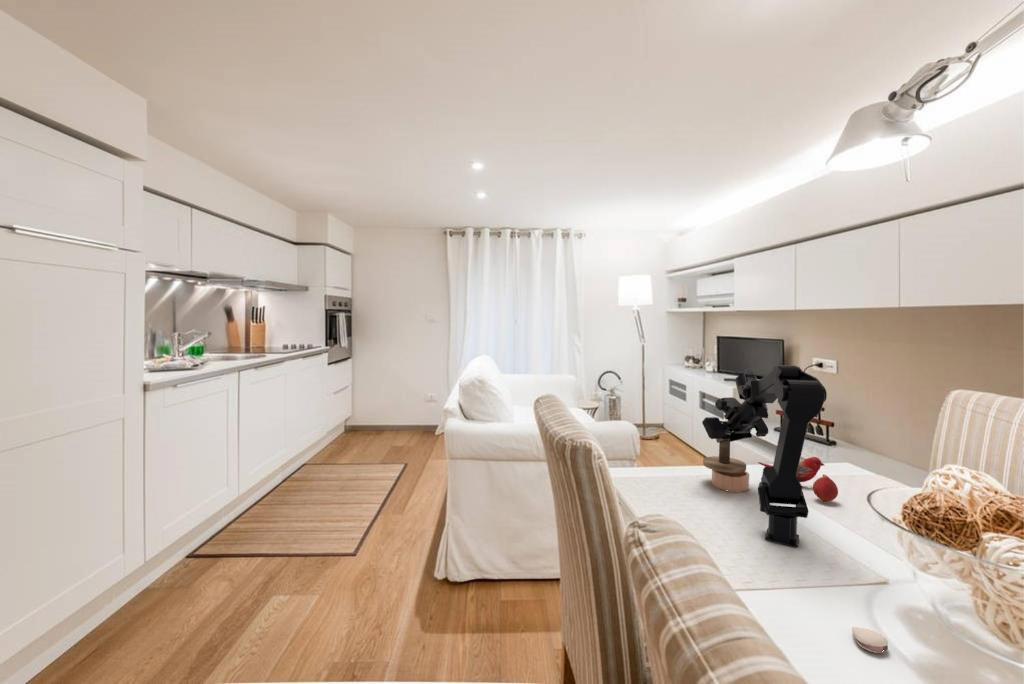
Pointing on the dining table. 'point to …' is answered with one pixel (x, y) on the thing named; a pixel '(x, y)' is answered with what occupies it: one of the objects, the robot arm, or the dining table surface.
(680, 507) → the dining table surface
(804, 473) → the decorative bird figurine
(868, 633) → the beige oval flat piece
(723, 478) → the bowl
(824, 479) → the onion
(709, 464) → the lid
